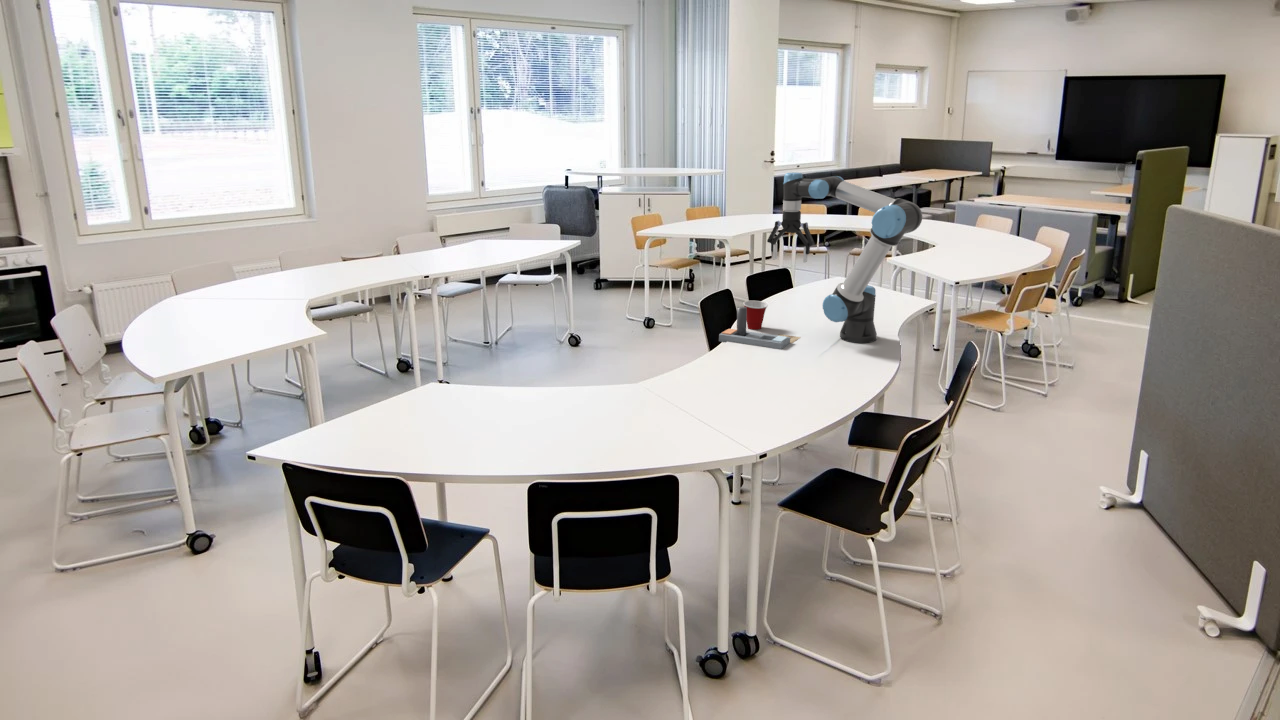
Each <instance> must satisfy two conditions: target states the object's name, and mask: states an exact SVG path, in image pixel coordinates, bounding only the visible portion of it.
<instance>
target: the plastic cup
mask: <svg viewBox="0 0 1280 720" xmlns="http://www.w3.org/2000/svg"><path fill="white" fill-rule="evenodd" d="M742 302H743V307H746V308H747V320H746V328H747V329H748V330H752V331H753V330H754V331H758V330H761V329H762V325H763V321H764V317H765V313H766V310H767V308H768V306H769V304H768V303H766V302H764V301H761V300H746V301H742Z"/></svg>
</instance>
